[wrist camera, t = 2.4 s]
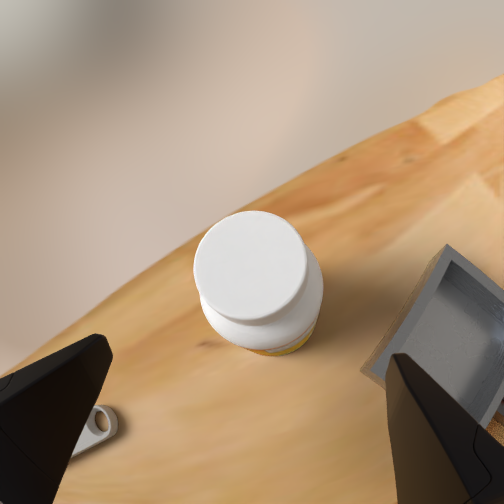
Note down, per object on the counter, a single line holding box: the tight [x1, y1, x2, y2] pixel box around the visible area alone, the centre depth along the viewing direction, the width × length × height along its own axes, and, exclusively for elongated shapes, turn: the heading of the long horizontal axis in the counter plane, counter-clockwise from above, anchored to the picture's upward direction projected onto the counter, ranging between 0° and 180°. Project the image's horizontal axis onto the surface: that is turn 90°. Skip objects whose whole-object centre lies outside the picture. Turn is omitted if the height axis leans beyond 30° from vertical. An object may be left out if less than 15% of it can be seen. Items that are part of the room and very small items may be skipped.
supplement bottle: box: [194, 211, 323, 356], centre depth 15 cm, size 5×5×10 cm
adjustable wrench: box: [71, 405, 118, 458], centre depth 16 cm, size 25×6×2 cm, turn 122°
